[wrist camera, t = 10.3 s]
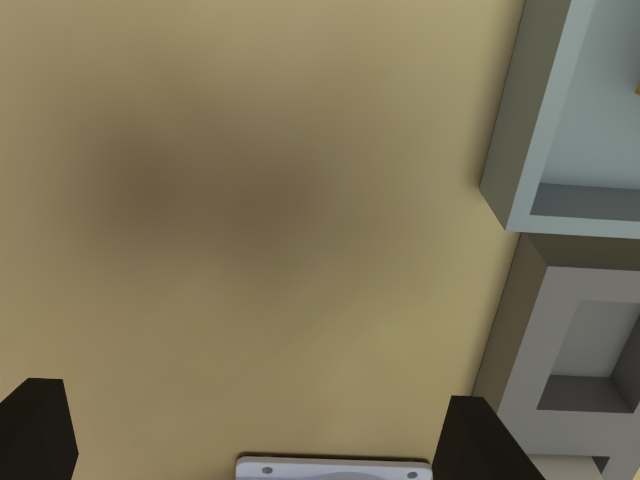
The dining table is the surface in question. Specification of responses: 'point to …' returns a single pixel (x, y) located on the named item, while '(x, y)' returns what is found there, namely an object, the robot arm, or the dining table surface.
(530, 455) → the fuse
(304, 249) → the dining table surface
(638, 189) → the parts tray
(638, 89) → the orange rectangular block
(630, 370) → the block
